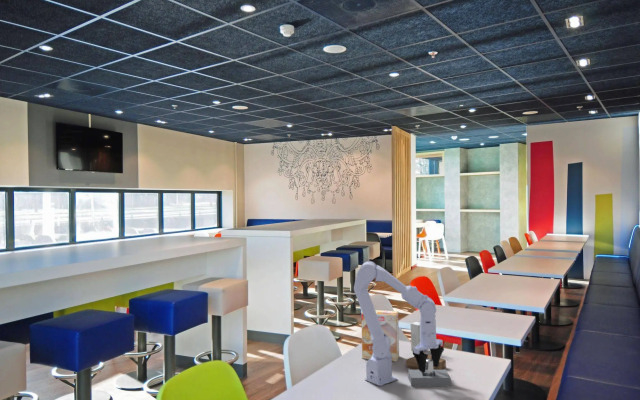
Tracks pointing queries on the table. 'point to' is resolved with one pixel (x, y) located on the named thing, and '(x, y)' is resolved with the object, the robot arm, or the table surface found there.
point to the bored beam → (429, 378)
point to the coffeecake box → (391, 329)
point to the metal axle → (429, 368)
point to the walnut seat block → (414, 365)
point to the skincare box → (415, 334)
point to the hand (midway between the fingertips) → (428, 368)
